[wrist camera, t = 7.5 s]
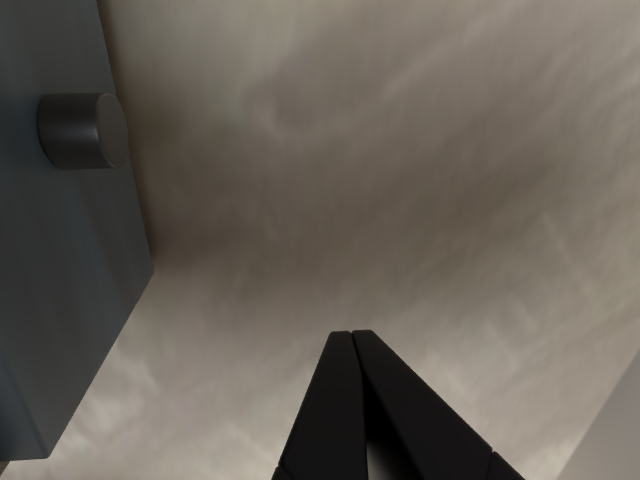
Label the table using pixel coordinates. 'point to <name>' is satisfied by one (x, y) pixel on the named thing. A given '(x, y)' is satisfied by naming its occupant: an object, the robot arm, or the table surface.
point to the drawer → (60, 218)
